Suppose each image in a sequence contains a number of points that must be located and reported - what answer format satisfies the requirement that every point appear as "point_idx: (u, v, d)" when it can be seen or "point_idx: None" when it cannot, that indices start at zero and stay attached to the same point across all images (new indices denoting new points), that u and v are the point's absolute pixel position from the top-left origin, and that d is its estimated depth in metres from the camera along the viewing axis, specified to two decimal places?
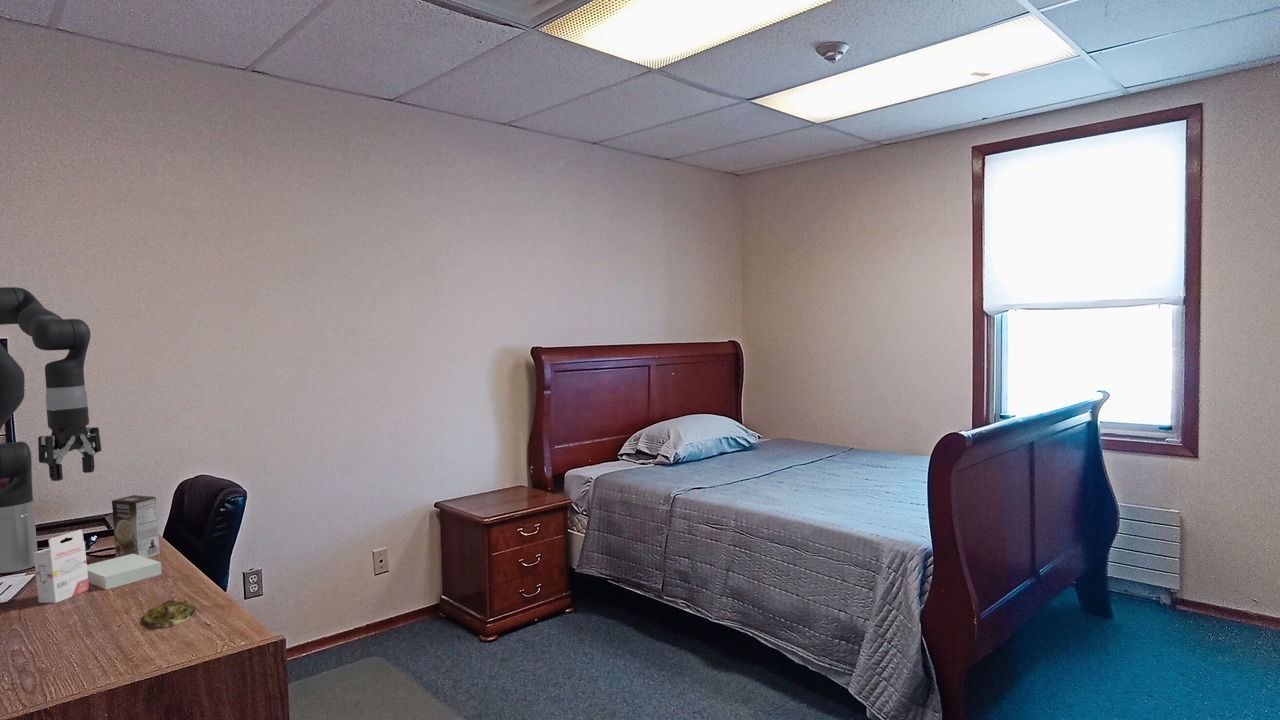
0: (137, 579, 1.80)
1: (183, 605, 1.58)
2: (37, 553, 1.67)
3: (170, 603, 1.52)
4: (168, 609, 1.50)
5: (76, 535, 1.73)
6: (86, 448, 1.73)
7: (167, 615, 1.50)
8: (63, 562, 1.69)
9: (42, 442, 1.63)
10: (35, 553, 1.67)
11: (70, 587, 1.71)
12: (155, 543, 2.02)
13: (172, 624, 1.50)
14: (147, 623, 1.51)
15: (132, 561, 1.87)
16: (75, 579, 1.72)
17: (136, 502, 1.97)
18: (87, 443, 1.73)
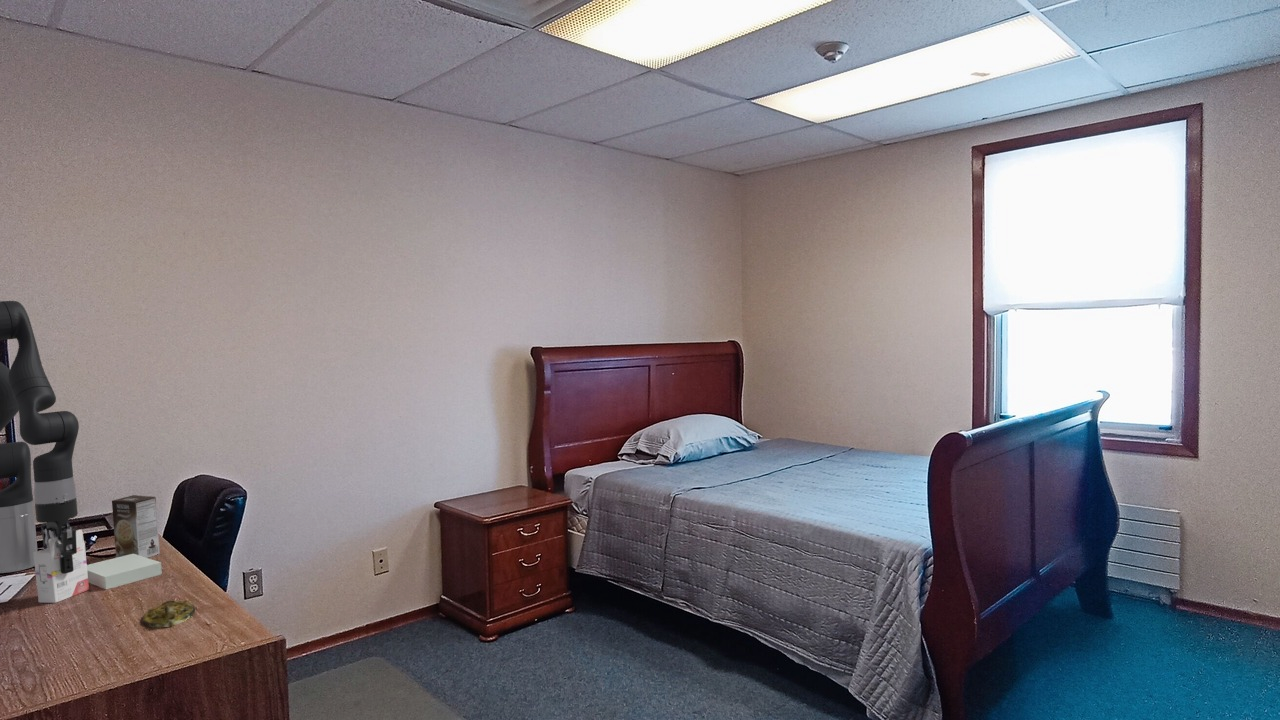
0: (137, 579, 1.80)
1: (183, 606, 1.58)
2: (37, 553, 1.67)
3: (170, 603, 1.52)
4: (168, 609, 1.50)
5: (76, 535, 1.73)
6: None
7: (167, 615, 1.50)
8: None
9: (68, 536, 1.67)
10: (35, 553, 1.67)
11: (70, 587, 1.71)
12: (155, 543, 2.02)
13: (172, 624, 1.50)
14: (147, 623, 1.51)
15: (132, 561, 1.87)
16: (75, 579, 1.72)
17: (136, 502, 1.97)
18: None
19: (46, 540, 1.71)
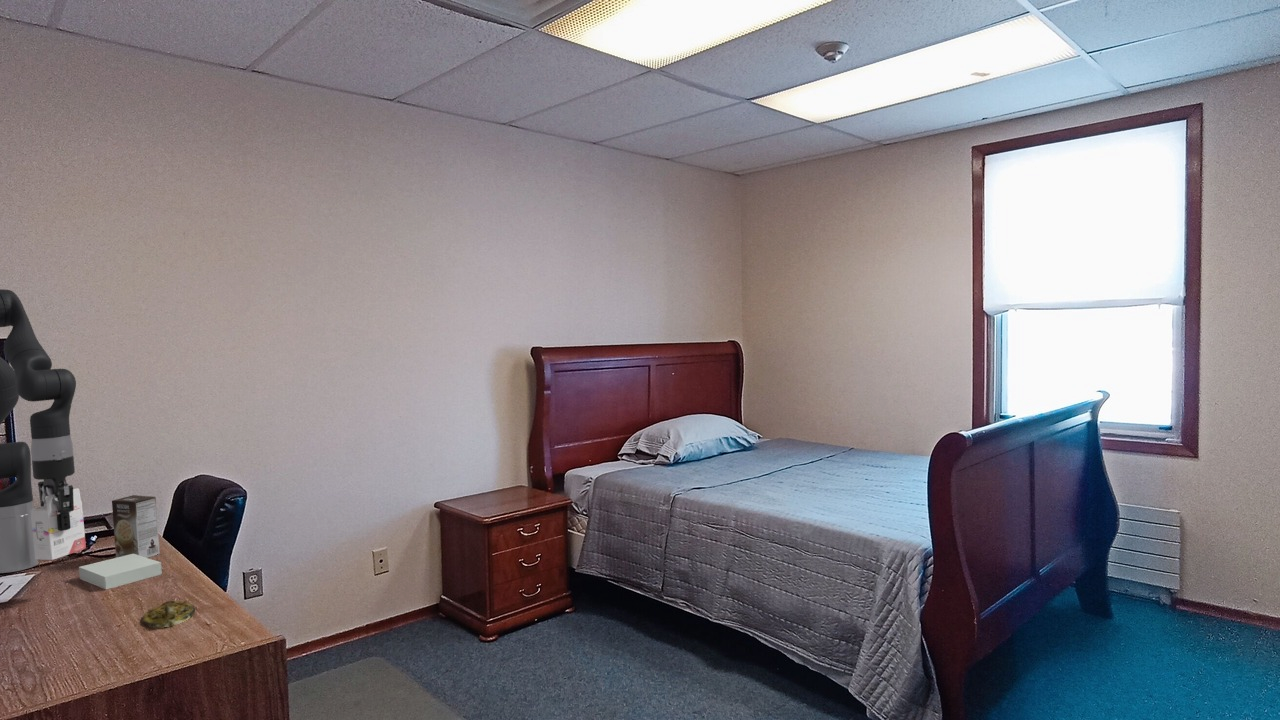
0: (137, 579, 1.80)
1: (183, 606, 1.58)
2: (34, 510, 1.67)
3: (170, 603, 1.52)
4: (168, 609, 1.50)
5: (73, 493, 1.72)
6: None
7: (167, 615, 1.50)
8: None
9: (65, 493, 1.66)
10: (32, 510, 1.67)
11: (67, 545, 1.70)
12: (155, 543, 2.02)
13: (172, 624, 1.50)
14: (147, 623, 1.51)
15: (132, 561, 1.87)
16: (72, 537, 1.72)
17: (136, 502, 1.97)
18: None
19: (43, 498, 1.70)
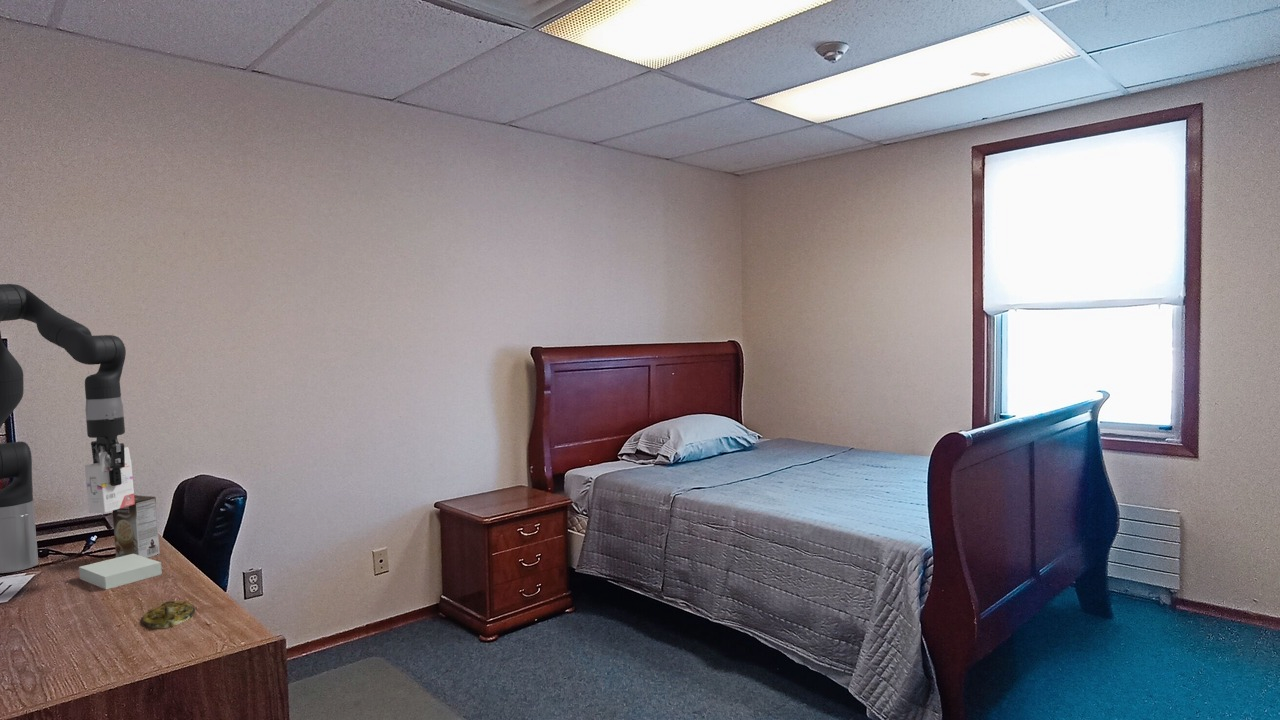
0: (137, 579, 1.80)
1: (183, 606, 1.57)
2: (88, 466, 1.79)
3: (170, 604, 1.52)
4: (168, 610, 1.50)
5: None
6: None
7: (167, 616, 1.50)
8: None
9: (117, 450, 1.78)
10: (86, 466, 1.79)
11: (118, 499, 1.82)
12: (155, 543, 2.02)
13: (172, 625, 1.50)
14: (147, 624, 1.51)
15: (132, 561, 1.87)
16: (122, 492, 1.83)
17: (136, 502, 1.97)
18: None
19: (96, 456, 1.82)
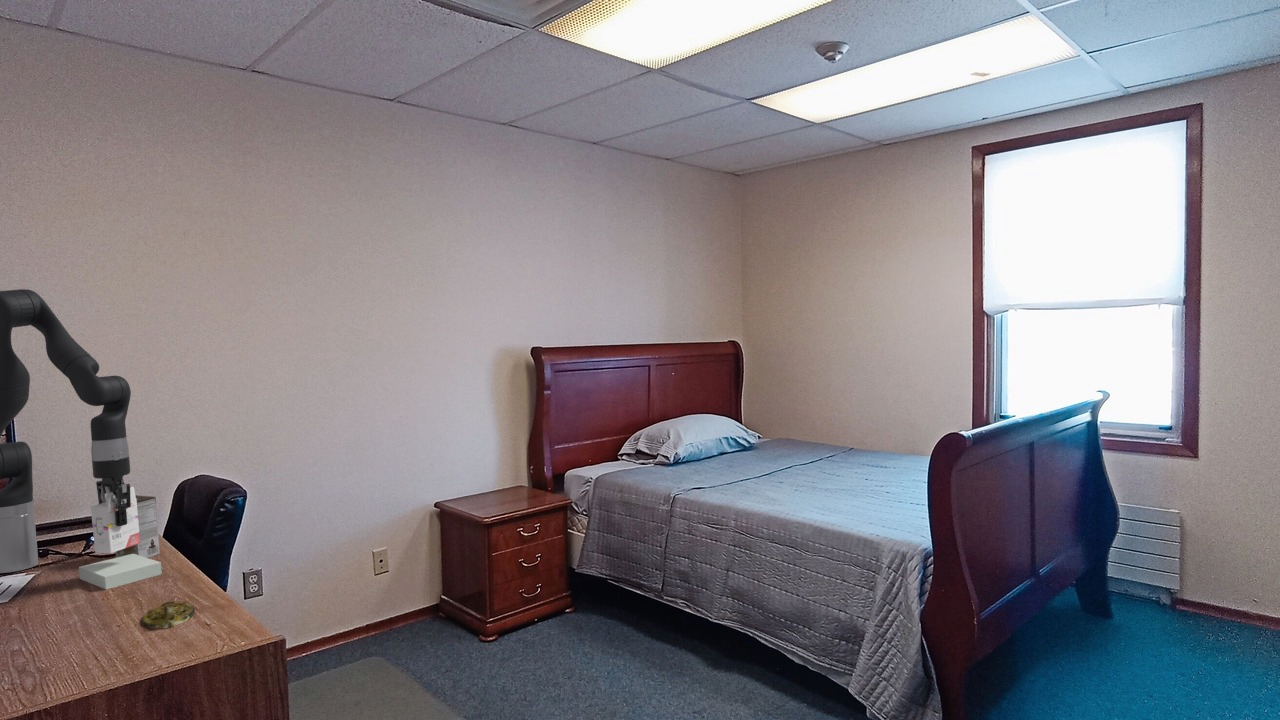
0: (137, 579, 1.80)
1: (182, 606, 1.57)
2: (94, 507, 1.80)
3: (169, 604, 1.52)
4: (167, 610, 1.50)
5: None
6: None
7: (166, 616, 1.50)
8: None
9: (123, 490, 1.79)
10: (92, 507, 1.80)
11: (123, 539, 1.83)
12: (155, 543, 2.02)
13: (171, 625, 1.49)
14: (146, 624, 1.50)
15: (132, 561, 1.87)
16: (128, 532, 1.84)
17: None
18: None
19: (102, 496, 1.83)
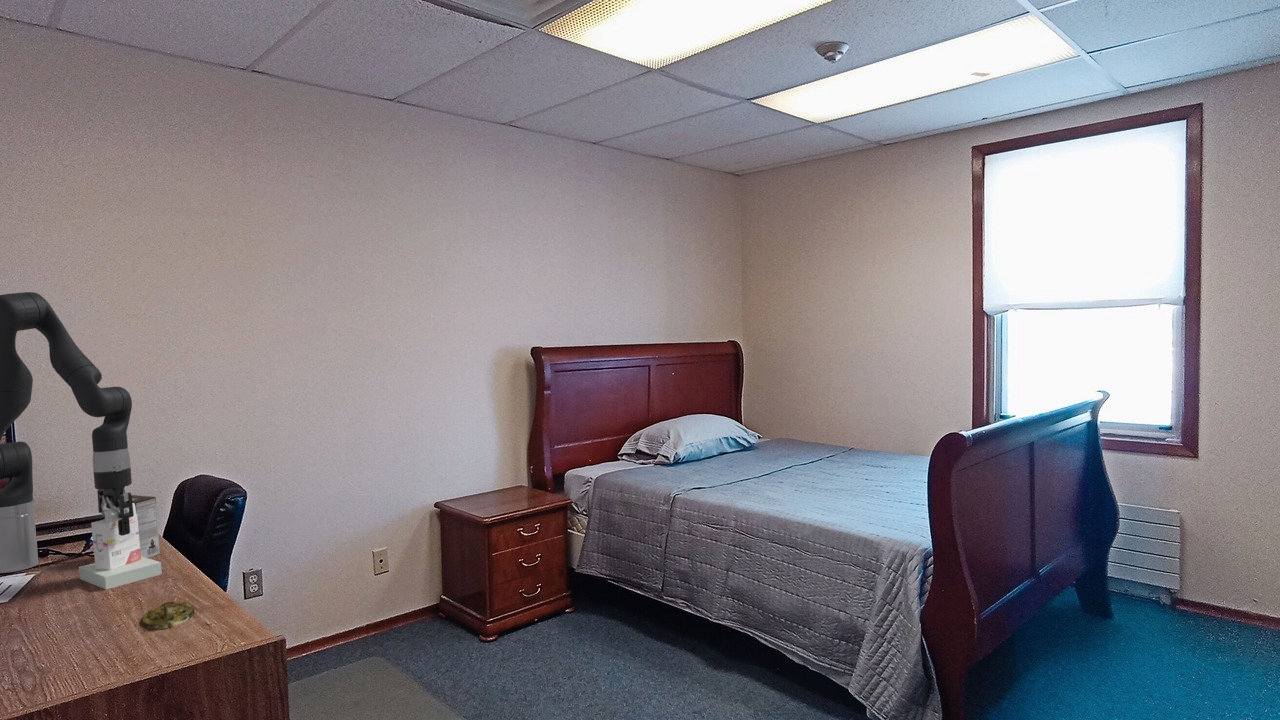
0: (137, 579, 1.80)
1: (182, 607, 1.57)
2: (94, 523, 1.80)
3: (169, 604, 1.52)
4: (167, 610, 1.50)
5: None
6: None
7: (166, 616, 1.49)
8: (118, 532, 1.82)
9: (125, 499, 1.79)
10: (92, 523, 1.80)
11: (124, 556, 1.83)
12: (155, 543, 2.02)
13: (171, 625, 1.49)
14: (146, 625, 1.50)
15: None
16: (128, 548, 1.85)
17: (136, 502, 1.97)
18: None
19: (102, 506, 1.84)
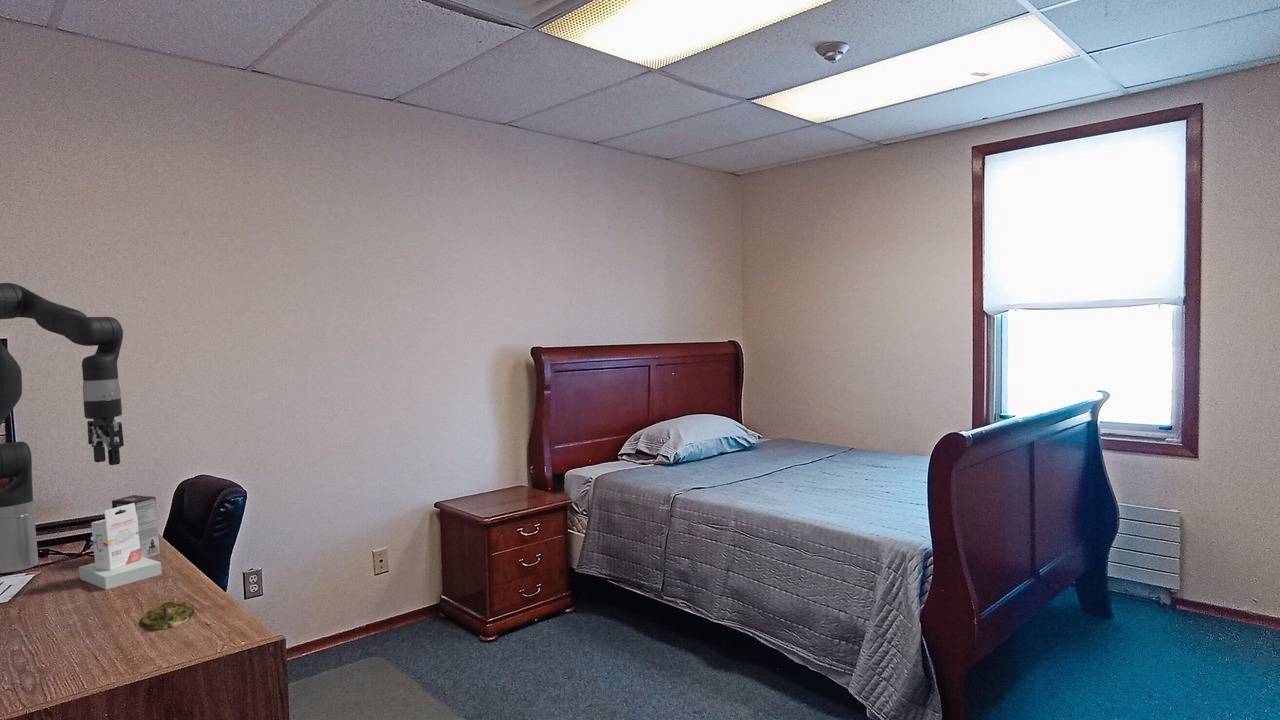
0: (137, 579, 1.80)
1: (182, 607, 1.57)
2: (94, 523, 1.80)
3: (169, 605, 1.51)
4: (167, 611, 1.49)
5: (129, 508, 1.85)
6: None
7: (166, 617, 1.49)
8: (118, 532, 1.82)
9: (115, 428, 1.79)
10: (92, 523, 1.80)
11: (124, 556, 1.83)
12: (155, 543, 2.02)
13: (171, 626, 1.49)
14: (146, 625, 1.50)
15: None
16: (128, 548, 1.85)
17: (136, 502, 1.97)
18: None
19: (92, 436, 1.83)
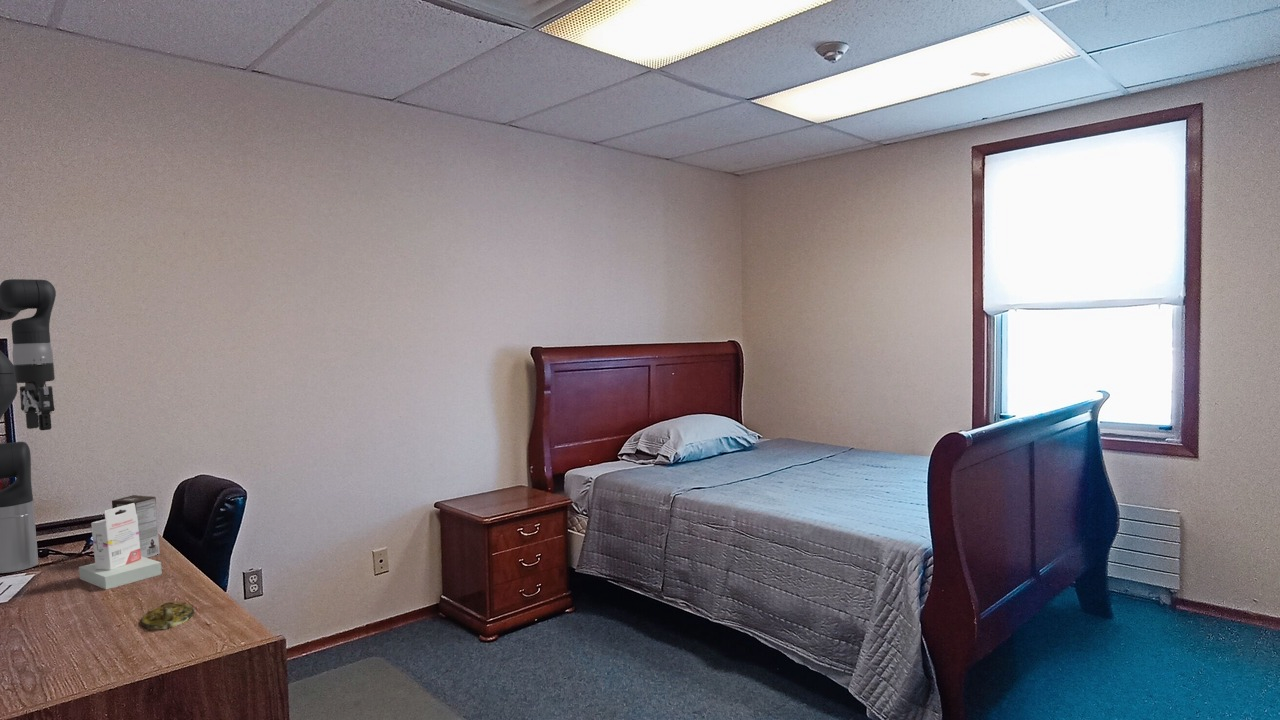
0: (137, 579, 1.80)
1: (182, 607, 1.57)
2: (94, 523, 1.80)
3: (168, 605, 1.51)
4: (166, 611, 1.49)
5: (129, 508, 1.85)
6: None
7: (165, 617, 1.49)
8: (118, 532, 1.82)
9: (45, 392, 1.75)
10: (92, 523, 1.80)
11: (124, 556, 1.83)
12: (155, 543, 2.02)
13: (170, 626, 1.49)
14: (145, 625, 1.50)
15: None
16: (128, 548, 1.85)
17: (136, 502, 1.97)
18: None
19: (24, 401, 1.79)
